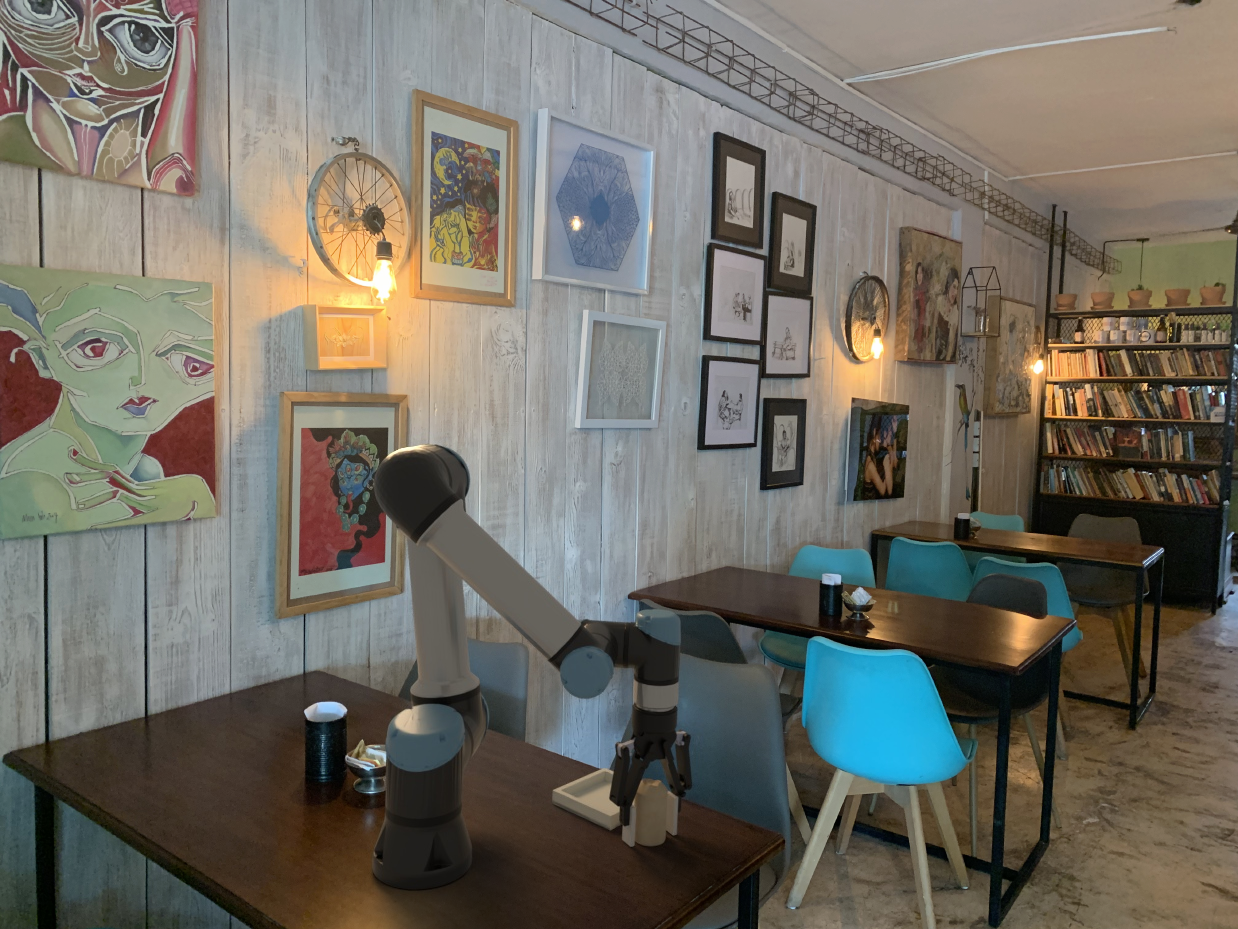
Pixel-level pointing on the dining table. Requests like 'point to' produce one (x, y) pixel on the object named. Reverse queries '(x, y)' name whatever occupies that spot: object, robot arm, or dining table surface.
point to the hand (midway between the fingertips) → (649, 837)
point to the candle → (651, 812)
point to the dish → (590, 799)
